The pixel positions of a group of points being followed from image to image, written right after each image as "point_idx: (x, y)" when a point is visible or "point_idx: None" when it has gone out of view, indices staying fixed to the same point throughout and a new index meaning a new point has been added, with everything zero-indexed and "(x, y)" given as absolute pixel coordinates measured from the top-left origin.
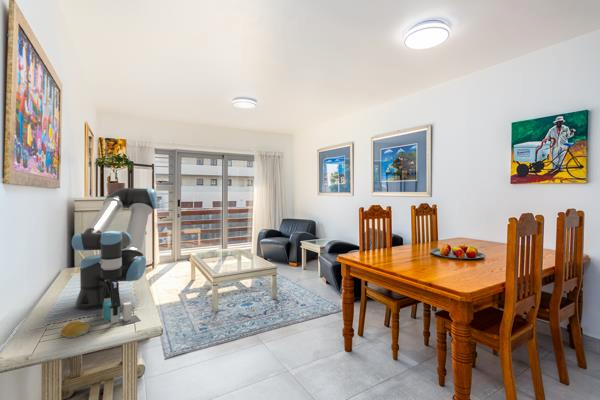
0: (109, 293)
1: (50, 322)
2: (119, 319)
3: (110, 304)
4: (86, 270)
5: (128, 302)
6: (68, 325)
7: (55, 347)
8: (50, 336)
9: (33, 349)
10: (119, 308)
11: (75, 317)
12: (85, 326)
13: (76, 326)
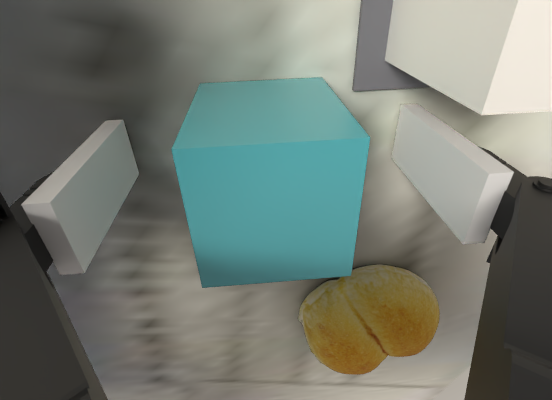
0: (50, 292)
1: (135, 377)
2: (366, 88)
3: (339, 235)
4: None
5: (528, 24)
6: (371, 370)
7: (455, 350)
8: (323, 366)
9: (405, 388)
10: (346, 111)
11: (112, 308)
12: (427, 308)
13: (420, 347)
